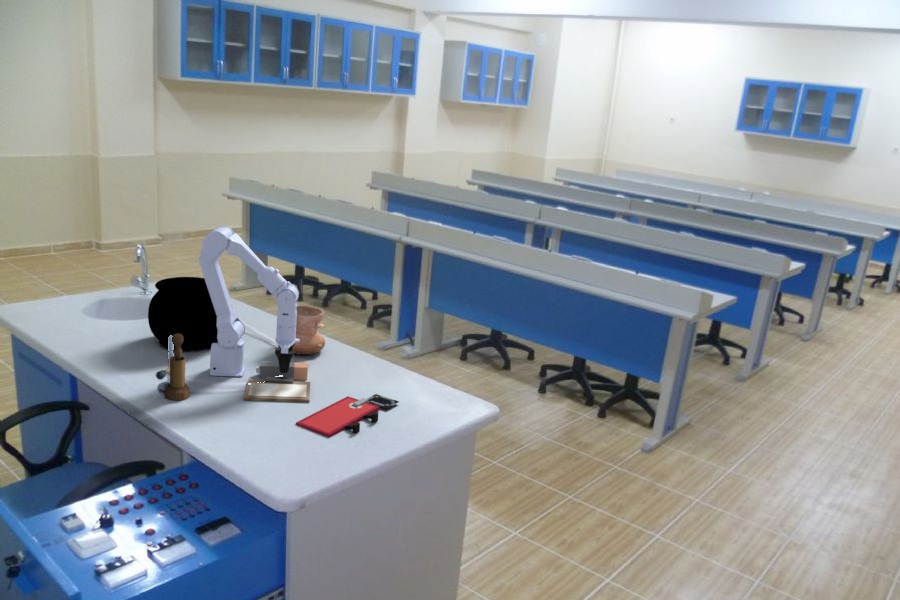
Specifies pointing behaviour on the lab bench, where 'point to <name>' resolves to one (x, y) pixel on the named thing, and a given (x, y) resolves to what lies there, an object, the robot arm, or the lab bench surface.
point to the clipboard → (278, 390)
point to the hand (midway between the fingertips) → (284, 367)
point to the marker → (294, 371)
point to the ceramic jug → (308, 330)
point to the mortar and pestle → (177, 373)
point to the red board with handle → (345, 415)
